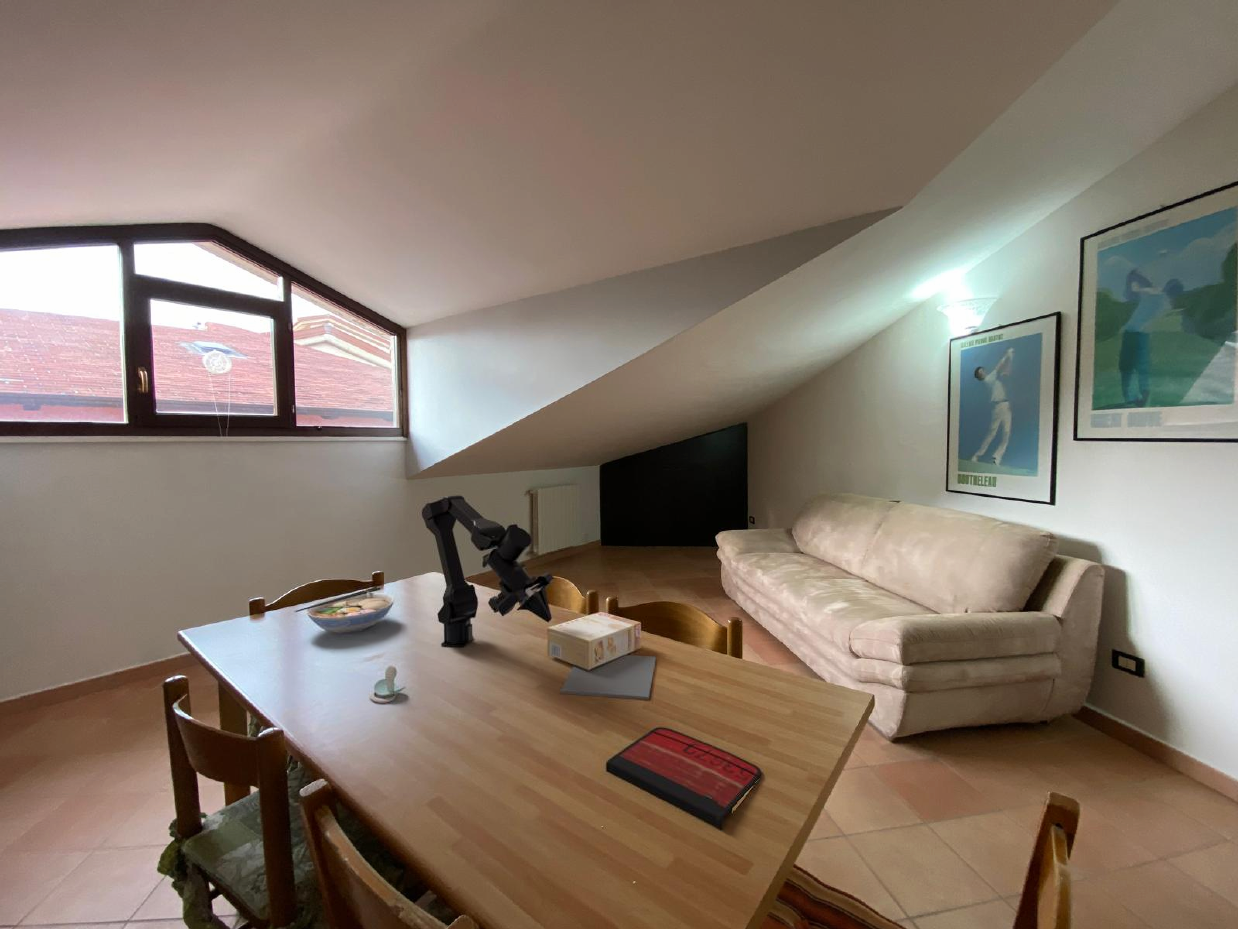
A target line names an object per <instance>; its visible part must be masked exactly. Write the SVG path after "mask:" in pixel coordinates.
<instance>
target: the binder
mask: <svg viewBox="0 0 1238 929" xmlns="http://www.w3.org/2000/svg"><path fill="white" fill-rule="evenodd" d="M605 770H606V771H605V772H607V773H610V774H611V775H613V776H615V777H617V778H618V779H621V780H623V781H624V782H627V783H629V784H631V785H633V786H634V787H637V788H639V789H640V790H642V791H645V792H646V793H648V794H649V795H650V794H651V795H652V796H653V797H656V798H658V799H659V800H661V799H662V801H664V802H665V801H666V803H667V802H668V804H669V803H670V805H671V804H672V805H671V806H673V805H674V807H675V806H676V808H678V809H680V810H682V811H683V812H685V813H687V814H689V815H690V816H693V817H695V818H697V819H699V820H701V821H702V822H705V823H707V824H709V825H711V826H712V827H715V828H716V829H717V830H719V831H723V818H724V817H725V816H726V815H727V814H728V813H729V812H730V811H731V809H732V808H733V807H734V806H735V805H736V804H737V802H738V801H739V800H740V799H741V798H742V797H743V796H744V794H745V793H746V792H747V791H748V790H749V789H750V788H751V787H752V786H753V785H754V784H755V782H756V781H757V780H758V779H759V778H760V779H761V777H760V776H762V770H761V768H760V767H758V766H757V765H755V764H754V763H752V762H749V761H747V760H745V759H743V758H741V757H739V756H738V755H735V754H733V753H731V752H729V751H726V750H723V749H721V748H719V747H717V746H714V745H712V744H710V743H707V742H704V741H702V740H700V739H697V738H695V737H692V736H690V735H687V734H684V733H682V732H679V731H677V730H674V729H672V728H668V727H666V726H665V727H664V726H660V727H659V726H658V727H655V728H654V729H652V730H649V732H647V733H645V735H643V736H641V737H640V738H638V739H636V740H635V741H634V742H632V743H631V744H629V745H628V746H626V747H624V748H623V749H622V750H621V751H619V752H617V753H616V754H615V755H613V756H612V757H610V758H609V759H608V760H607V761H606V764H605ZM760 779H759V780H760ZM755 785H756V784H755Z"/></svg>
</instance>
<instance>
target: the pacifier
mask: <svg viewBox="0 0 1238 929" xmlns="http://www.w3.org/2000/svg"><path fill="white" fill-rule="evenodd" d="M397 671H398V670H397V668H396V667H395V666H394V665H389V666H387V667H386V669H385V672H384V675H385V678H383V679H380V680H378V681H376V683H375V685H373V690H374V691H372V692H371V693H370V694H369V698H370V699H369V700H371V701H373V702H375V703H379V704H380V703H381V704H383V703H385V704H386V703H389V702H392V701H393V700H395V699H396V697H397V696H398V695H397V694H398V693H399V692H402V691H403V690H405V689H406V685H405V686H399V687H398V686H397V684H396V683H395V678H396V677H397V674H398V672H397ZM376 695H377V696H380V697H381V696H382V698H380V697H376ZM396 695H397V696H396Z"/></svg>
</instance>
